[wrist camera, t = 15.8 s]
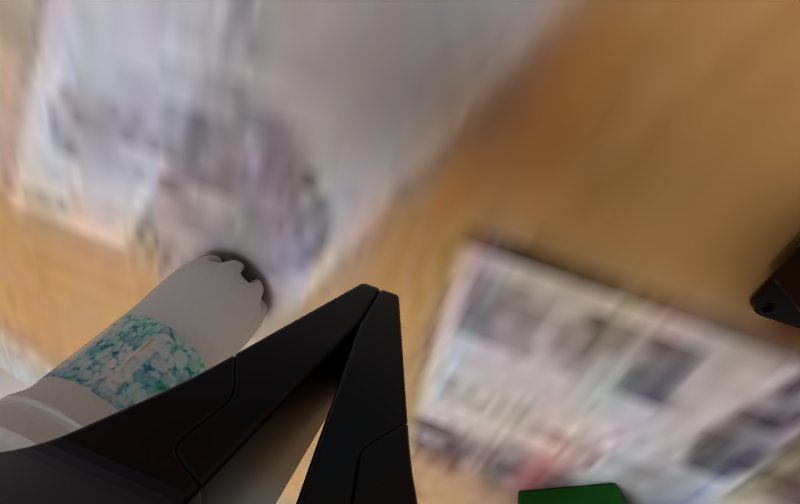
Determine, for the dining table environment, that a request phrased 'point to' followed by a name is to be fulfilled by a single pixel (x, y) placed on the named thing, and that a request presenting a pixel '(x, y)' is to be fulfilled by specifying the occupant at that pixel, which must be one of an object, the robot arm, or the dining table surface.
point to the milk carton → (574, 495)
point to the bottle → (141, 352)
